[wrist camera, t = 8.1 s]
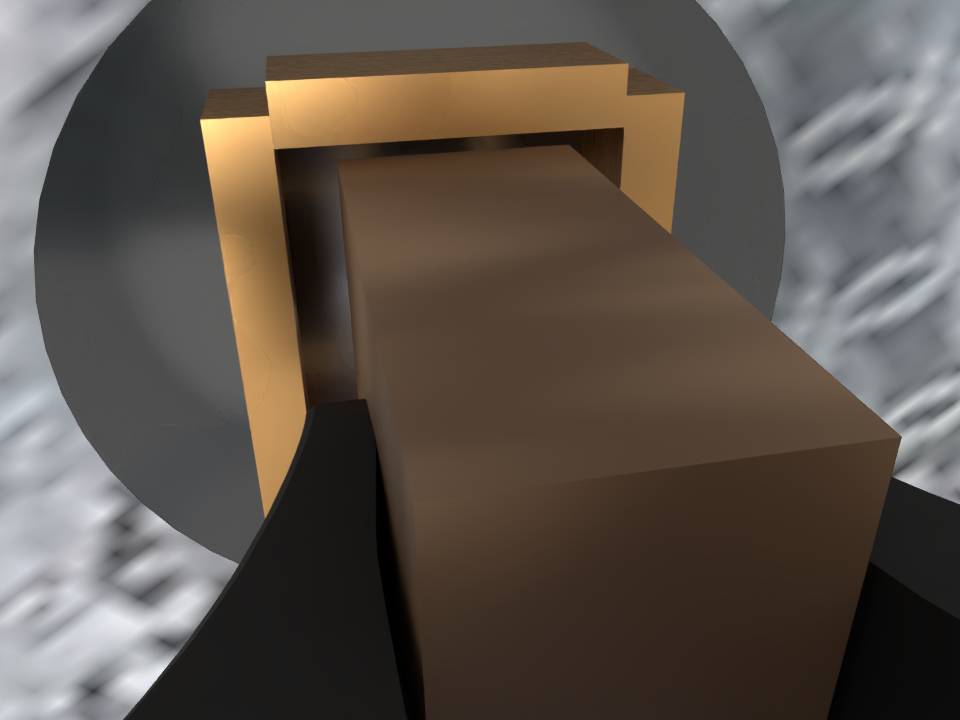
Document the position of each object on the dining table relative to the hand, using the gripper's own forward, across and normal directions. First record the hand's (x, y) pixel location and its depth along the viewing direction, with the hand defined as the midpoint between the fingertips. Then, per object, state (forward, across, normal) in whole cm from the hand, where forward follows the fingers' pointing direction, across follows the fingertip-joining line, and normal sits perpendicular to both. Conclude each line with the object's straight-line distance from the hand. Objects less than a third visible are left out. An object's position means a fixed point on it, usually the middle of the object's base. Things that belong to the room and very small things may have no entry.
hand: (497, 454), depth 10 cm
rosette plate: (+5, 0, 0) cm, 5 cm away
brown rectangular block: (+2, 0, 0) cm, 2 cm away
